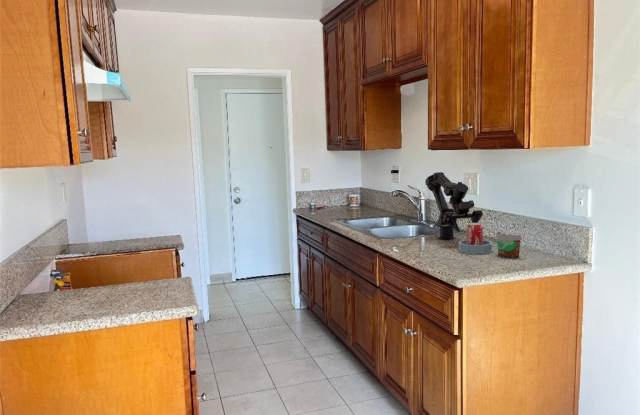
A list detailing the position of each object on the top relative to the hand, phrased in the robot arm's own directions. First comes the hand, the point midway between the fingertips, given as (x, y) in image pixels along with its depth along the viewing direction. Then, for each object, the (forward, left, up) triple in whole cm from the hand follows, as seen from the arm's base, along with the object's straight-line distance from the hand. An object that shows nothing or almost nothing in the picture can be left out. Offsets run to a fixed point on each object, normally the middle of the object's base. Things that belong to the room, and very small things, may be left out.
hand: (468, 230), depth 233 cm
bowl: (+7, -3, -8) cm, 11 cm away
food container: (+23, -3, -8) cm, 24 cm away
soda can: (+6, -3, -8) cm, 10 cm away
